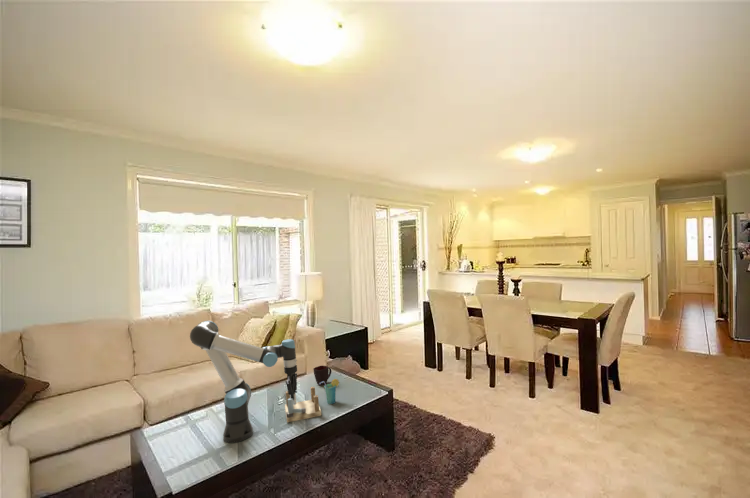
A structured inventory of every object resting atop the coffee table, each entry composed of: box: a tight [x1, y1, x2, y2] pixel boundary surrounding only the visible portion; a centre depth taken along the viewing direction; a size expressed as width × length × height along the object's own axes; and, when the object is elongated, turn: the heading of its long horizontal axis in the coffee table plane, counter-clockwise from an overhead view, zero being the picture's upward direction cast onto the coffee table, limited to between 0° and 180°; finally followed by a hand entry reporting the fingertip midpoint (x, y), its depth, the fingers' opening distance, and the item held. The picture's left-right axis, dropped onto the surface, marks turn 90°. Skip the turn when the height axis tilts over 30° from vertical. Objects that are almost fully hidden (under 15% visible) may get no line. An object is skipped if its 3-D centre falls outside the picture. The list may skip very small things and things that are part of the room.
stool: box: [284, 386, 322, 423], centre depth 220 cm, size 20×20×11 cm
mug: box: [312, 365, 332, 386], centre depth 267 cm, size 10×14×12 cm
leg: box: [287, 397, 306, 413], centre depth 213 cm, size 10×2×8 cm, turn 83°
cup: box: [319, 378, 340, 405], centre depth 231 cm, size 14×8×15 cm, turn 128°
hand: (293, 404), depth 216 cm, fingers closed
